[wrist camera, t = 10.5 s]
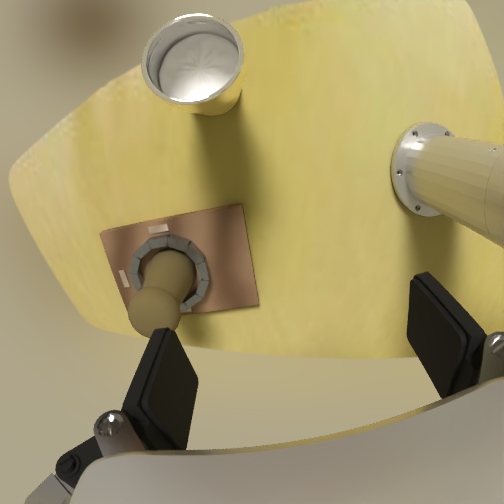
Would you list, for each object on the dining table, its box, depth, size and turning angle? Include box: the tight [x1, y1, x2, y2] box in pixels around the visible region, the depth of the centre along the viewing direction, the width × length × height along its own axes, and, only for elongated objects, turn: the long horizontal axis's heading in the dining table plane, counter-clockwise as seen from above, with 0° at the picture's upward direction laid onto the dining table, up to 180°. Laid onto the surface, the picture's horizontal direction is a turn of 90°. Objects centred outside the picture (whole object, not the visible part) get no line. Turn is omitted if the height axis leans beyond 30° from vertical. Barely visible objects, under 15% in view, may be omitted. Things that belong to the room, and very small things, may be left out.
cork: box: [128, 248, 197, 338], centre depth 30 cm, size 6×6×11 cm
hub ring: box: [130, 233, 210, 310], centre depth 35 cm, size 10×10×2 cm
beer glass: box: [141, 14, 247, 116], centre depth 22 cm, size 7×7×15 cm
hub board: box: [100, 203, 259, 315], centre depth 36 cm, size 18×13×1 cm
